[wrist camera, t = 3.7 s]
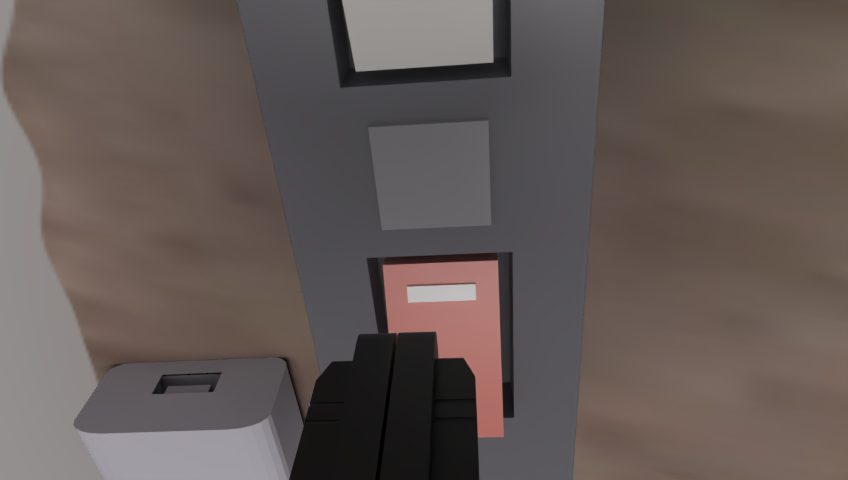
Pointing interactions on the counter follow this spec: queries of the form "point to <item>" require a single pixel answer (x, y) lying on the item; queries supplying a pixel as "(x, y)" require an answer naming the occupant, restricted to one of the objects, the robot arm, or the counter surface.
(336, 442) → the robot arm
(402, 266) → the block
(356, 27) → the rocker near
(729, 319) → the counter surface
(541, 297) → the power strip
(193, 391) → the charger
